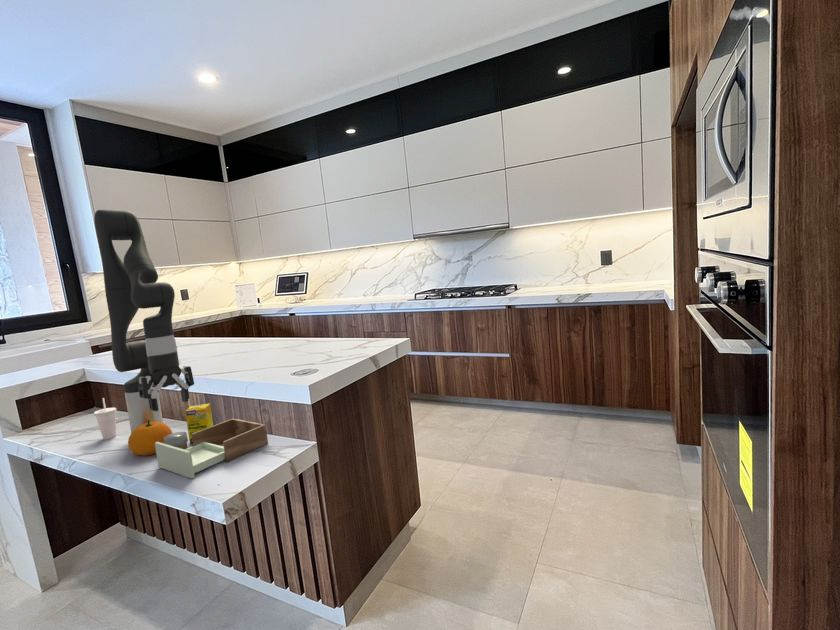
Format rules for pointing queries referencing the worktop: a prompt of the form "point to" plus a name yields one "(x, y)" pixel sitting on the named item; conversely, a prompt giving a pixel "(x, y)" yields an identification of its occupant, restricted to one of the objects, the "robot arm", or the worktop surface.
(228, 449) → the cubby
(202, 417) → the supplement box
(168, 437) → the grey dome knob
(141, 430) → the fruit
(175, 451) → the tray
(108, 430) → the smoothie
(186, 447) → the brown wooden cube
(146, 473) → the worktop surface
